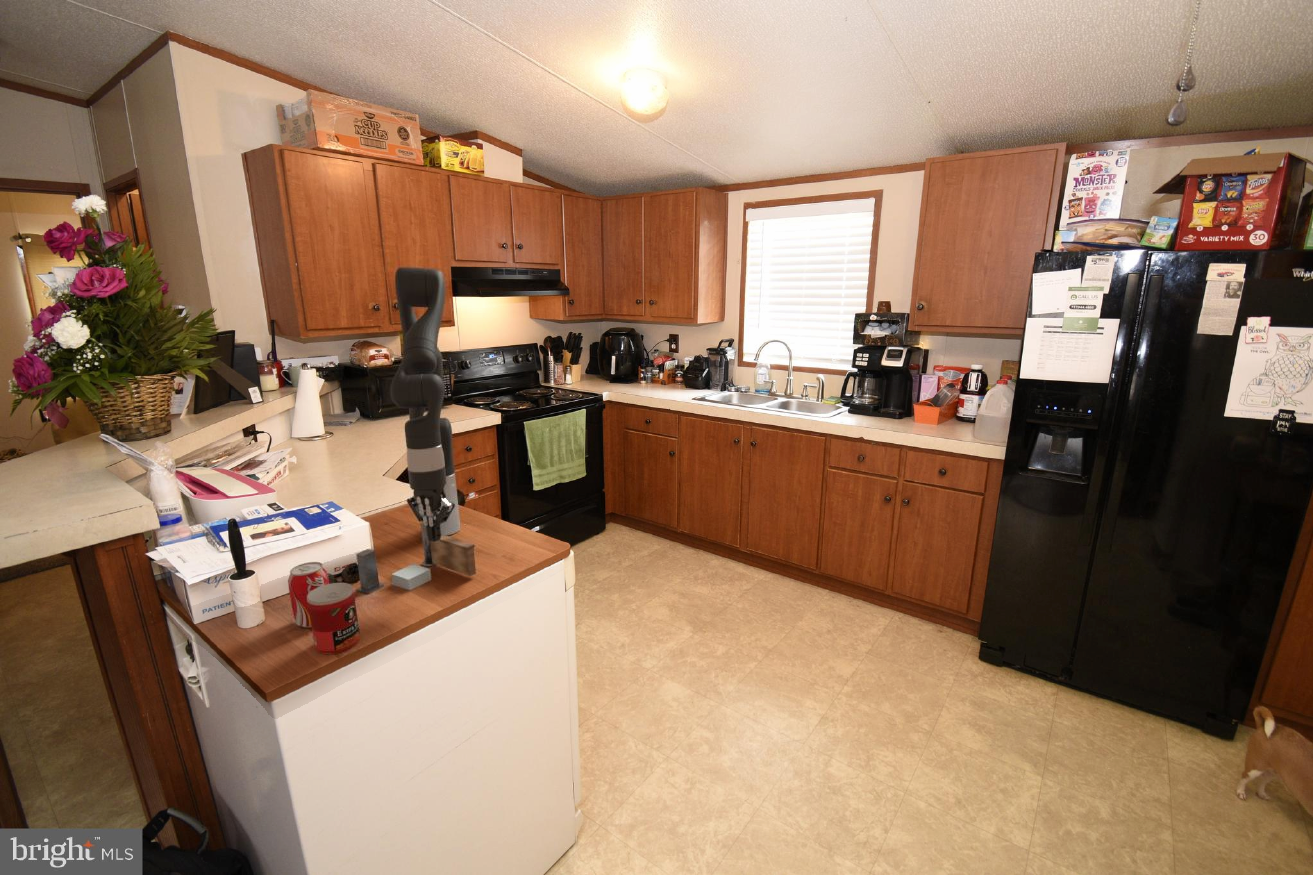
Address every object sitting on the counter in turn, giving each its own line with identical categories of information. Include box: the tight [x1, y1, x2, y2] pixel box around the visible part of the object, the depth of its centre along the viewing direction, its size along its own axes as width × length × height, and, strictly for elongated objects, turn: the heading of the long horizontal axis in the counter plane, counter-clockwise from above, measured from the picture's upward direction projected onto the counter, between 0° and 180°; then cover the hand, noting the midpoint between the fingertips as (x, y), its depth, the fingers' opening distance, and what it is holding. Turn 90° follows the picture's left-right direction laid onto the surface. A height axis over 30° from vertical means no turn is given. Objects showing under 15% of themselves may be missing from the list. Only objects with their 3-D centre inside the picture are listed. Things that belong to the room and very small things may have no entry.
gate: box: [430, 534, 477, 577], centre depth 138 cm, size 14×2×7 cm, turn 58°
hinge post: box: [420, 521, 438, 568], centre depth 142 cm, size 4×4×11 cm
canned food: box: [307, 582, 361, 655], centre depth 109 cm, size 8×8×11 cm
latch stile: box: [355, 548, 385, 595], centre depth 130 cm, size 4×4×9 cm
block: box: [391, 563, 432, 591], centre depth 134 cm, size 6×6×3 cm
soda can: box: [287, 561, 330, 628], centre depth 116 cm, size 7×7×12 cm
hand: (434, 540), depth 127 cm, fingers closed
